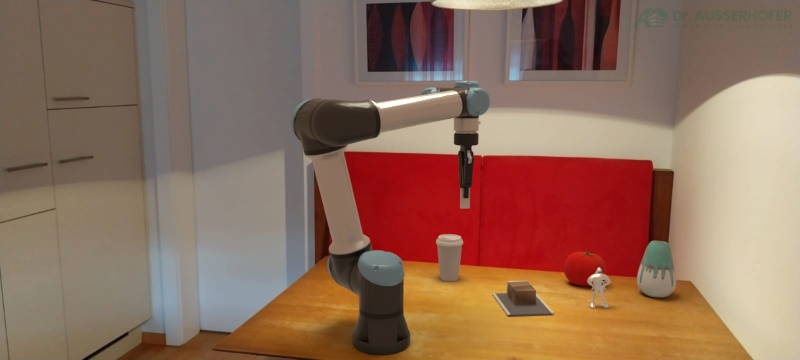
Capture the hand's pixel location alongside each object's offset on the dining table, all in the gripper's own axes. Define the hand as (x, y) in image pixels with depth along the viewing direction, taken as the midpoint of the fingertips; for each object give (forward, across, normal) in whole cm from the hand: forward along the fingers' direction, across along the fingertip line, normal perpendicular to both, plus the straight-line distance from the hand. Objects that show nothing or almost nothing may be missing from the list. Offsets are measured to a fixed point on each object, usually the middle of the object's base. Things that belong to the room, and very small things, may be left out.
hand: (464, 208), depth 183 cm
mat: (+29, -7, -17) cm, 35 cm away
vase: (+30, -2, -63) cm, 70 cm away
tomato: (+30, +10, -44) cm, 54 cm away
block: (+27, -9, -18) cm, 33 cm away
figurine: (+30, -10, -40) cm, 51 cm away
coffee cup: (+30, +20, +1) cm, 36 cm away
